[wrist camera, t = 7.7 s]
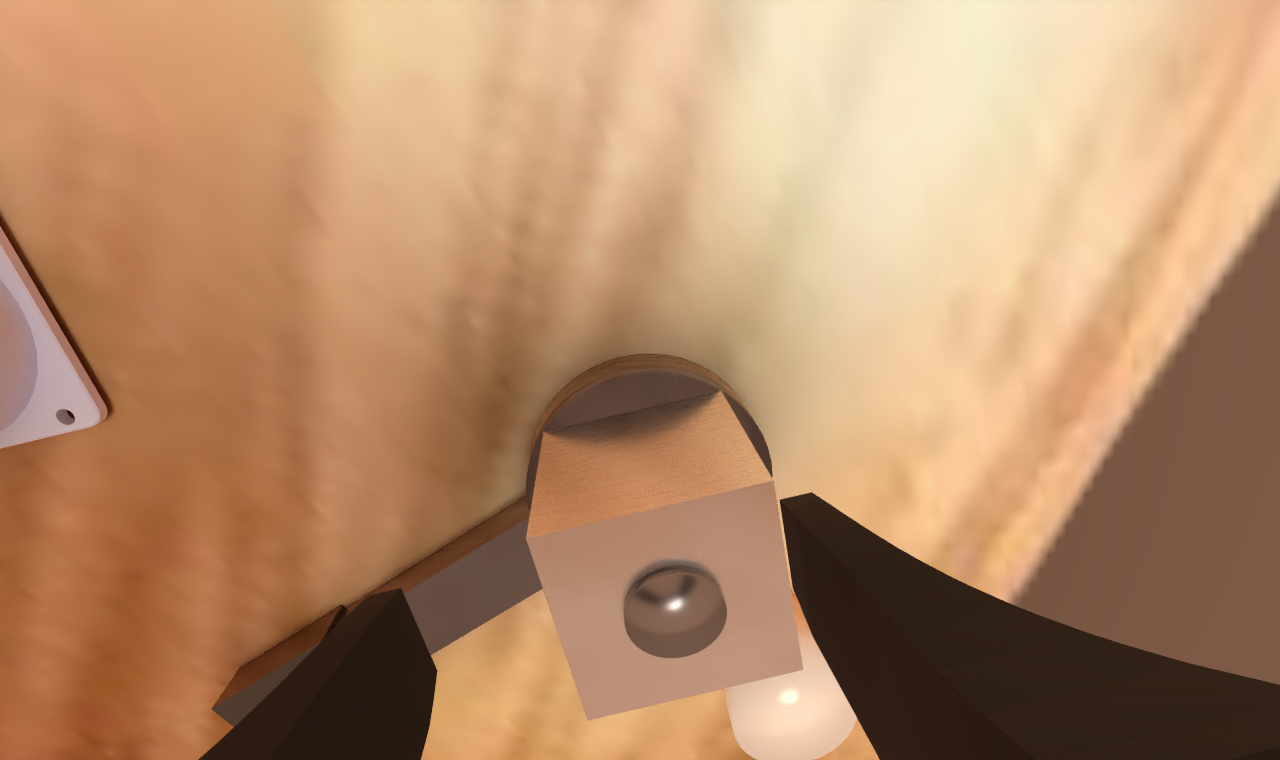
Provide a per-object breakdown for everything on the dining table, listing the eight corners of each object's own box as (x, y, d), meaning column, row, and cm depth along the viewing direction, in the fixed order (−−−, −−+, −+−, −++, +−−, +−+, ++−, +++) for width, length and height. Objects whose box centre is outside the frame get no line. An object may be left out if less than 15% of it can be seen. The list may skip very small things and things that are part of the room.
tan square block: (587, 577, 20) (587, 731, 15) (543, 431, 19) (524, 546, 13) (748, 539, 21) (807, 679, 15) (720, 390, 19) (777, 487, 13)
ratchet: (271, 721, 24) (203, 841, 20) (122, 476, 20) (-1, 560, 16) (783, 599, 24) (825, 692, 20) (737, 329, 20) (776, 374, 16)
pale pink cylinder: (721, 686, 25) (744, 777, 22) (701, 604, 24) (723, 687, 20) (823, 662, 25) (863, 748, 22) (810, 578, 24) (851, 656, 20)
